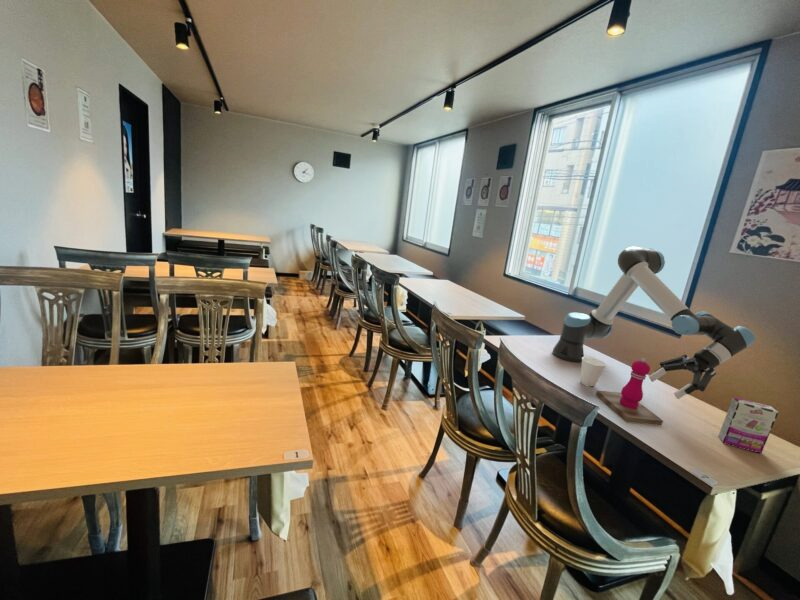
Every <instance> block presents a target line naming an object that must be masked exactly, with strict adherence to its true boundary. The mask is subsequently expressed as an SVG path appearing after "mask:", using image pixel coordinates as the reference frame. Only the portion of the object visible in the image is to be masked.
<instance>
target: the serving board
mask: <svg viewBox="0 0 800 600" xmlns="http://www.w3.org/2000/svg"><path fill="white" fill-rule="evenodd" d="M595 395H596V396H597V397H598V398H599V399H600V400H601V401H603V403H604V404H606V405H607V407H609V408H610V409H611V410H613V412H615V414H617V416H619V417H620V418H621V419H622V420H623V421H624V422H626V423H633V424H642V425H643V424H644V425H653V426H662V425H663V423H664V420H663V419H662V418H660V417H659V416H658V415H656V413H654V412H653V411H651V410H650V409H649V408H648V407H646V406H645V405H644V404H642V403H641V401H639V402H638V403H639V405H638V408H637V409H632V408H628V407H626V406H624V405H622V404H621V403H620V398H621V397H623V396H622V395H621V392H616V391H606V390H599V389H597V390H596V392H595Z"/></svg>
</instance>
